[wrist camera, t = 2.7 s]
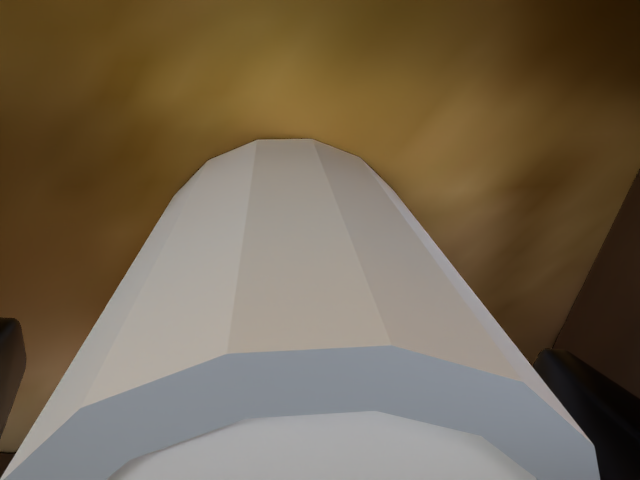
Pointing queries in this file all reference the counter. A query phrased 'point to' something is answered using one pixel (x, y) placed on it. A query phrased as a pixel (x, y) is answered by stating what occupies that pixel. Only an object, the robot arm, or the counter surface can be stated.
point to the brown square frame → (599, 306)
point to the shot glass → (298, 346)
